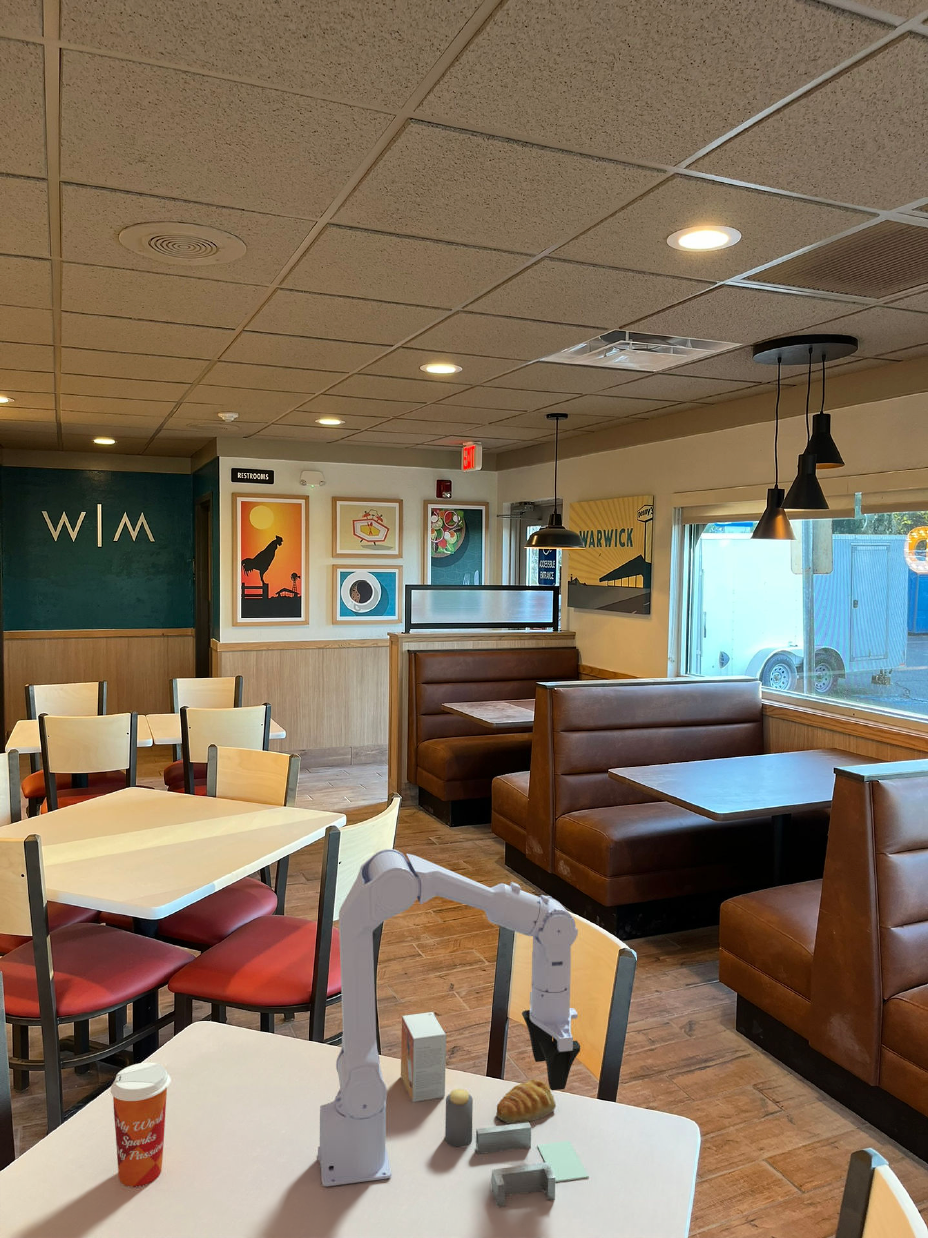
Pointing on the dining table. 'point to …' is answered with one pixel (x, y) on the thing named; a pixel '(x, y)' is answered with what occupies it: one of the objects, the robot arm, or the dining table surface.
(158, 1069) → the paper cup
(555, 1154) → the mat
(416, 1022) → the small box
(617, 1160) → the dining table surface
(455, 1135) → the grey canister
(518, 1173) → the metal brackets
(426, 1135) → the dining table surface
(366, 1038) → the robot arm
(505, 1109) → the pastry
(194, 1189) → the dining table surface
